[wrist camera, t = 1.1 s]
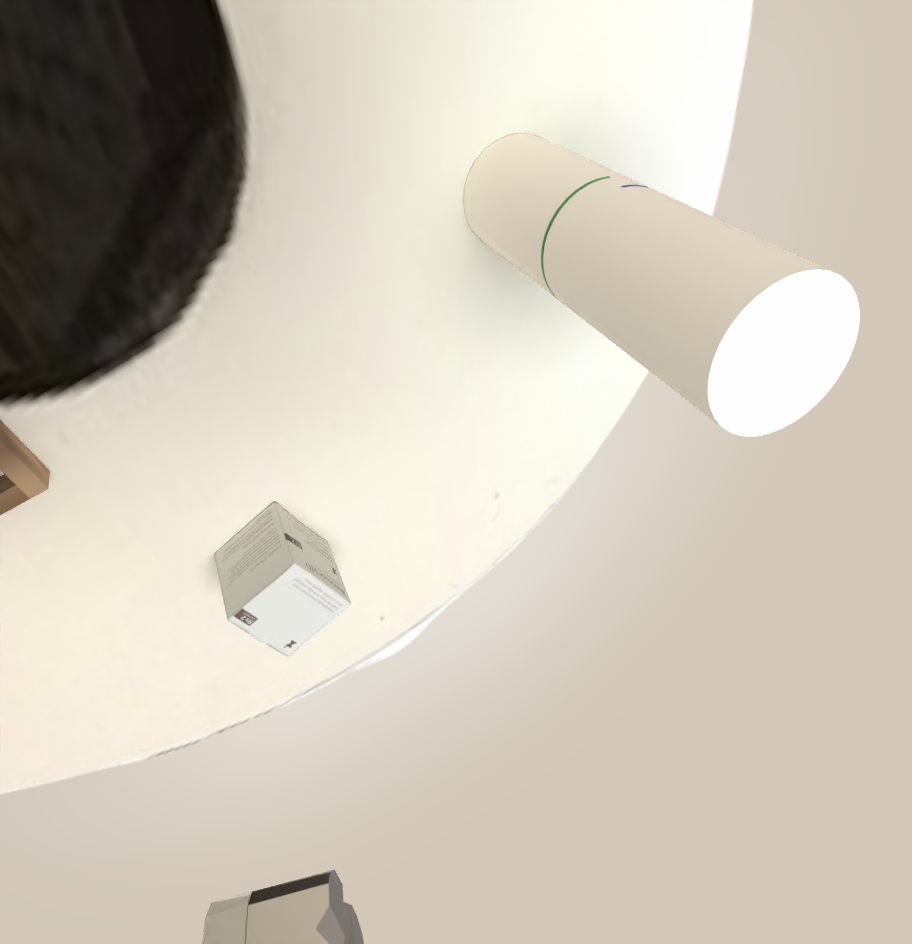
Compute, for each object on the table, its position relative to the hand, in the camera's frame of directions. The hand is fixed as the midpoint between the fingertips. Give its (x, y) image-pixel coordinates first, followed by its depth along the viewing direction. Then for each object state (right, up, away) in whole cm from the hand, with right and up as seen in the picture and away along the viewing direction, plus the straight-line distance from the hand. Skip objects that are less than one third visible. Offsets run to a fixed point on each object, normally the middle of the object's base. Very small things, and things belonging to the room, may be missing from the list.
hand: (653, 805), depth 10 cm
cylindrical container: (+1, +22, +41) cm, 46 cm away
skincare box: (-16, -1, +48) cm, 51 cm away
